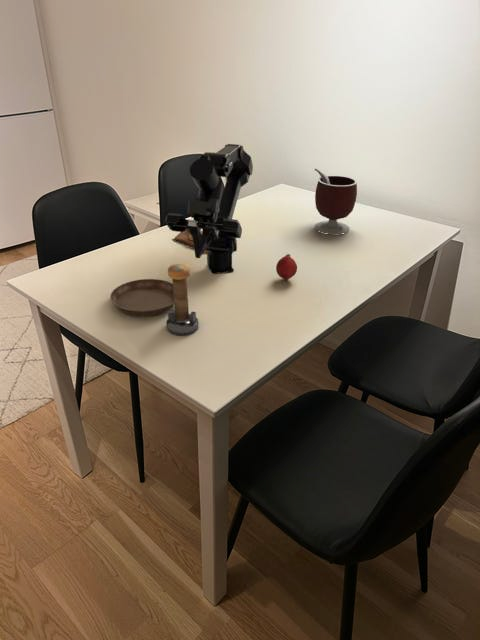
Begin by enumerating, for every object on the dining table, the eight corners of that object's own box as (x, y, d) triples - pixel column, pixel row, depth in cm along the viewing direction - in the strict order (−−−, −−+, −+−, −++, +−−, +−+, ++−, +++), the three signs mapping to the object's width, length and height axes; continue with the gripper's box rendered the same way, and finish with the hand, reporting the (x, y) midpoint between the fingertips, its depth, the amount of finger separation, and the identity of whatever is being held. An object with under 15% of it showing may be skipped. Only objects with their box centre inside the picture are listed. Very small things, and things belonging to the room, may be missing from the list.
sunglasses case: (169, 239, 164) (176, 220, 164) (183, 244, 170) (190, 226, 169) (206, 255, 154) (214, 235, 153) (220, 260, 160) (227, 240, 159)
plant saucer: (142, 282, 139) (141, 272, 137) (194, 298, 131) (193, 288, 129) (96, 309, 126) (95, 298, 124) (151, 329, 118) (150, 318, 116)
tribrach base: (173, 317, 122) (172, 302, 120) (202, 321, 121) (202, 306, 119) (161, 333, 116) (160, 318, 114) (192, 337, 114) (192, 322, 112)
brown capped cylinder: (176, 310, 119) (172, 261, 112) (195, 313, 118) (192, 264, 111) (169, 321, 115) (164, 271, 108) (188, 324, 114) (185, 274, 107)
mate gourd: (357, 226, 177) (365, 170, 167) (342, 239, 167) (350, 179, 157) (318, 218, 184) (323, 163, 174) (301, 229, 174) (306, 172, 164)
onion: (282, 286, 137) (284, 259, 133) (271, 277, 141) (273, 251, 137) (299, 282, 139) (302, 255, 135) (288, 273, 144) (290, 248, 140)
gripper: (164, 181, 119) (151, 242, 116) (239, 187, 116) (227, 250, 113) (177, 201, 130) (165, 257, 127) (246, 208, 126) (236, 266, 124)
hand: (197, 257), depth 122 cm, fingers closed
